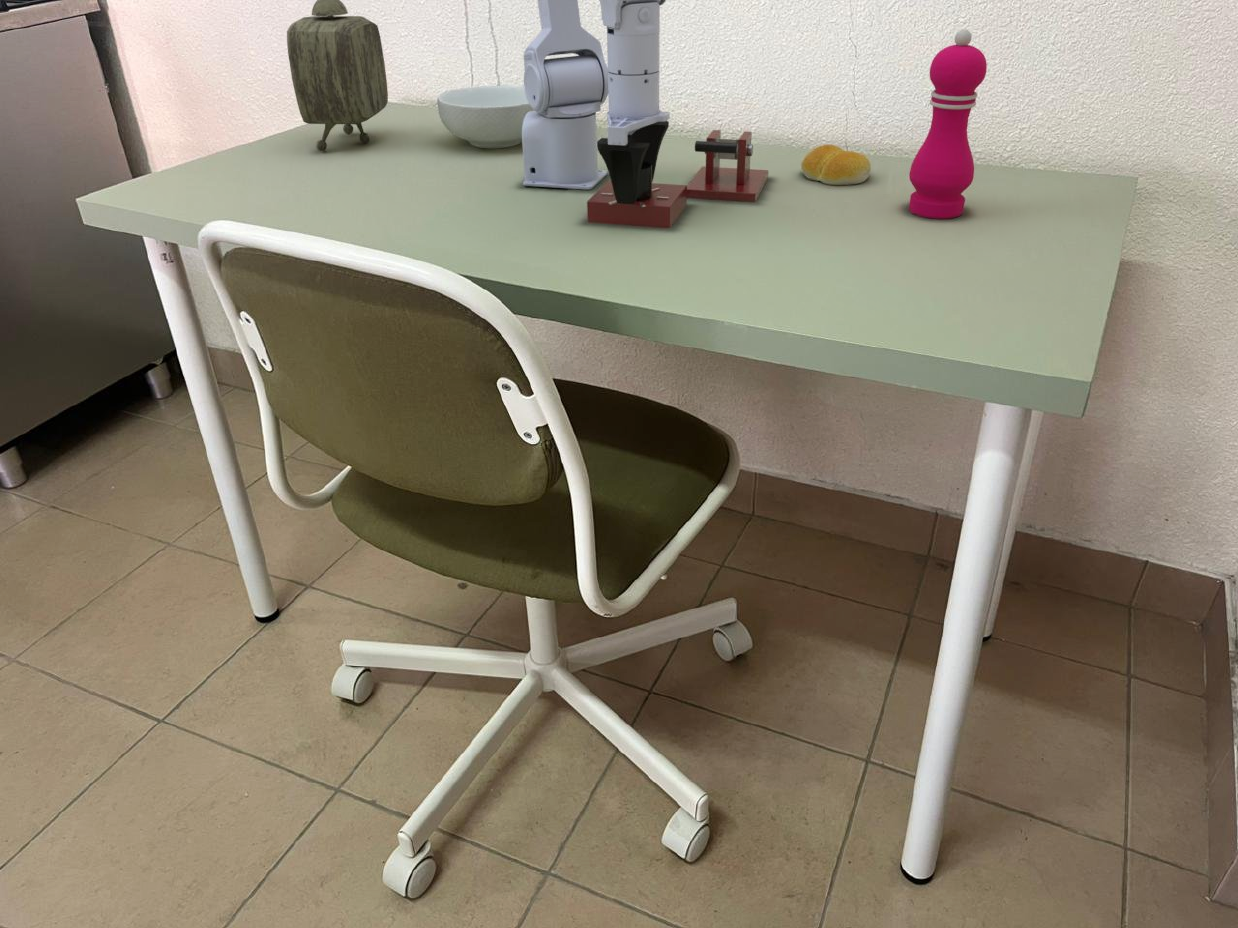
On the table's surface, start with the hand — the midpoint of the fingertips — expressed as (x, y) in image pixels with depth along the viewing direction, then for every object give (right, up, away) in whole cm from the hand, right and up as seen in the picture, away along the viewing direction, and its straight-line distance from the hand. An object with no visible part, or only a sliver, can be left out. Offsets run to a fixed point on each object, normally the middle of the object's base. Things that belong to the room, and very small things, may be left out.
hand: (634, 193), depth 113 cm
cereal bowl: (-21, +17, +35) cm, 44 cm away
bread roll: (+27, +6, +15) cm, 31 cm away
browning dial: (0, 0, 0) cm, 0 cm away
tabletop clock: (-43, +18, +36) cm, 59 cm away
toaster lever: (+11, +6, +5) cm, 13 cm away
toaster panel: (0, -2, +3) cm, 3 cm away
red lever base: (+12, +4, +11) cm, 17 cm away
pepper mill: (+36, -2, +2) cm, 36 cm away
